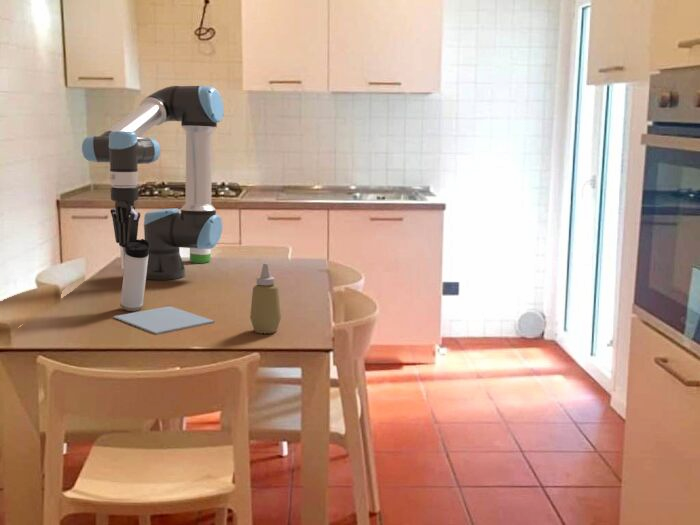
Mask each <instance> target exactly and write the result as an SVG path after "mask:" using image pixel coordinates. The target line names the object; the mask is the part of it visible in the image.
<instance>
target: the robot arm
mask: <svg viewBox="0 0 700 525" xmlns="http://www.w3.org/2000/svg"><path fill="white" fill-rule="evenodd" d="M224 108H225V107H224V102H223V99H222V96H221V94H220V92H219V91H218V90H217V89H216V88H215V87H213V86H208V85H207V86H206V85H172V86H167V87H163V88H160V89H159V90H157V91H155V92H153V93H151V94H149V95H148V96H147V97H144V99H142V100H141V102H140V104H139V106H138V107H137V108H136V109H133V111H132V112H130V113H129V114H127V115H126V116H125V117H124V118H122V119H121V120H119V121H118V122H116V124H114V125H112V126H111V127H110V128H109V129H107V130H105V131H104V132H103V133H101V134H100V135H98V136H97V135H93V136H91V135H90V136H86V137H84V140H82V144H81V152H82V156H83V157H84V159H85V160H86V161H88V162H94V163H109V179H110V185H111V186H112V187H111V188H110V200H111V201H112V202H114V203H115V204H114V208H112V209H110V210H109V211H110V214H111V218H112V225H113V229H114V230H113V232H114V238H115V243H116V244H118V245H119V247H120V268H121V270H123V271H124V264H125V255H126V246H127V243H128V242H129V241H131V240H138V230H139V223H140V222H139V221H140V218H141V213H140V212H137V211H136V205H135V201H138V200H139V188H138V187H137V186H139V171H138V165H140V164H141V165H142V164H147V165H149V164H151V163H154V162H156V161H157V160H158V159H159V157H160V156H161V146H160V144H159V142H158V140H156V139H154V138H153V137H149V136H143V135H145V134H146V133H147V132H148V131H150V130H152V128H154V127H155V126H160V125H162V124H164V123H166V122H167V123H168V122H181V127H180V128H182V129H183V130H184V131H185V204H184V205H183V206H182V207H181V208H180V210H179V208H165V209H156V210H151V211H147V212H146V213H145V214H144V217H143V218H144V219H143V231H144V233H143V235H144V236H143V237H144V240H147V241H148V243H149V256H148V264H147V273H146V280H154V281H166V280H175V279H180V278H183V277H185V276H186V269H185V268H186V267H185V265H184V262H183V260H182V257H181V253H180V251H181V250H180V248H183V249H184V248H185V249H190V248H197V249H213V248H215V247H216V246H217V245H218V243H219V242H220V239H221V237H222V232H223V221H222V218H221V216H219V215H218V214H217V209H216V208H215V207H214V206H213V204H212V188H213V187H212V185H213V184H212V180H213V177H212V176H213V175H212V174H213V173H212V172H213V171H212V170H213V169H212V168H213V161H212V160H213V159H212V158H213V132H215V130H216V129H218V128H217V126H218V123H220V122H221V121H222V120H223V116H224V112H225V110H224ZM142 136H143V137H142Z"/></svg>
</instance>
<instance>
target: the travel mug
mask: <svg viewBox="0 0 700 525" xmlns="http://www.w3.org/2000/svg"><path fill="white" fill-rule="evenodd" d="M148 256H149V243H148V241H147V240H145V238H140V239H137V240H131V241H129V242H128V243H127V246H126V255H125V264H124V270H123V276H122V286H121V293H120V304H119V305H120V307H121V308H122V309H123V310H125V311H128V312H138V311H141V309H142V308H143V306H144V299H145V297H144V296H145V291H146V290H145V289H146V281H147V279H146V273H147V264H148Z"/></svg>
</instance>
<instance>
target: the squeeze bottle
mask: <svg viewBox="0 0 700 525" xmlns="http://www.w3.org/2000/svg"><path fill="white" fill-rule="evenodd" d="M275 283H276V280H275V277H274V276H272V275H271V271H270V268H269V263H263V264H262V268H261V274H260V276H257V277H256V285H254V286H253V287H252V294H251V295H252V296H251V307H250V315H249V316H250V317H249V319H250V321H251V325H252V327H253V331H254V332H255V333H258V334H263V333H264V335H265V334H267V333H268V334H274V333H275V332H277V330H278V328H279V326H280V323H281V319H282V313H281V302H280V292H279V291H280V290H279V287H278V286H277V285H276V284H275Z"/></svg>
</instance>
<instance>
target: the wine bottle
mask: <svg viewBox="0 0 700 525" xmlns="http://www.w3.org/2000/svg"><path fill="white" fill-rule="evenodd" d="M211 249H212V248H211ZM211 249H197V248H189V260H190V262H191V263H194V264H207V263H209V262H210V261H211V257H212V255H211Z"/></svg>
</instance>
